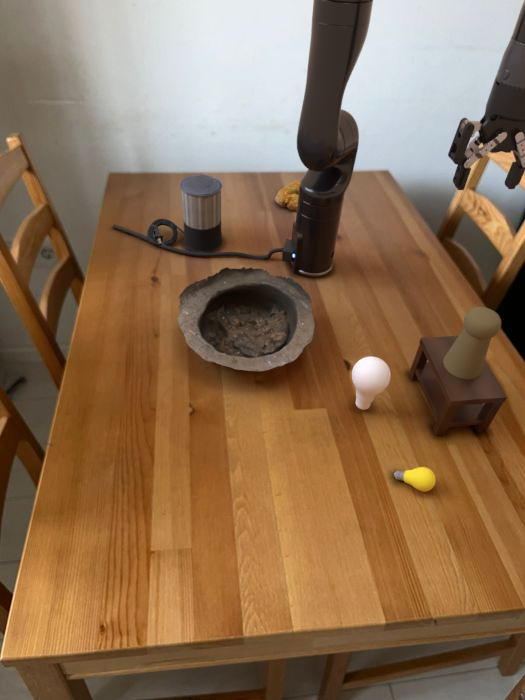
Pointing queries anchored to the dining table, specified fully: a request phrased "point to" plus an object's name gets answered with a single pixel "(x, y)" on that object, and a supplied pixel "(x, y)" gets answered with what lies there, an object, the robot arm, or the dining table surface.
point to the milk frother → (195, 216)
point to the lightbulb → (369, 380)
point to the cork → (472, 343)
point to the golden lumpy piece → (289, 196)
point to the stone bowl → (246, 319)
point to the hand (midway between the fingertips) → (483, 187)
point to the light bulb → (417, 478)
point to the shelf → (455, 388)
